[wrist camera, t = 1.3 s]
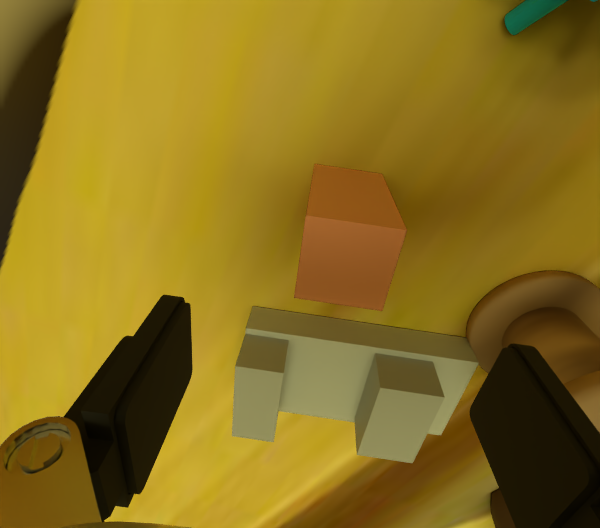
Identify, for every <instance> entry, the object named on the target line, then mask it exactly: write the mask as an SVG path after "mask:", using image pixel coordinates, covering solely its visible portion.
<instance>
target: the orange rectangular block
mask: <svg viewBox="0 0 600 528" xmlns="http://www.w3.org/2000/svg"><path fill="white" fill-rule="evenodd" d="M406 232H407V229H406V227H405V225H404V222H403V220H402V218H401V216H400V213H399V211H398V209H397V206H396V204H395V202H394V200H393V197H392V195H391V193H390V191H389V188H388V186H387V184H386V182H385V179H384V177H383V175H382V174H380V173H373V172H366V171H360V170H353V169H346V168H339V167H332V166H326V165H319V164H314V170H313V176H312V182H311V188H310V194H309V200H308V206H307V212H306V218H305V225H304V232H303V239H302V246H301V253H300V260H299V267H298V274H297V281H296V288H295V295H294V298H299V299H305V300H312V301H319V302H326V303H332V304H339V305H346V306H352V307H359V308H366V309H372V310H379V311H382V310H383V307H384V304H385V301H386V297H387V294H388V291H389V288H390V284H391V281H392V278H393V275H394V271H395V268H396V265H397V261H398V258H399V255H400V252H401V248H402V245H403V242H404V239H405V235H406Z"/></svg>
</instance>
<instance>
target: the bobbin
mask: <svg viewBox="0 0 600 528" xmlns="http://www.w3.org/2000/svg"><path fill="white" fill-rule="evenodd" d="M466 338H467V340H468V342H469V344H470V346H471V348H472V350H473V352H474V354H475V356H476V358H477V360H478V362H479V365H480V366H481V368H483V369H484V370H485V371H486V372H488V373H489V372H490V370H491V369H492V367H493V365H494V363H495V361H496V359H497V358H498V356H499V354H500V352H501V350H502V349H503V348H505V347H508V345H510V344H513V343H515V344H522V345H529V346H533V347H535V348H536V349H537V350H538V351H539V353H540V354H541V355H542V357H543V358H544V359H545V361H546V362H547V363H548V365H549V366H550V367H551V369H552V370H553V371H554V373H555V374H556V375H557V377H558V378H559V379H560V381H561V382H562V383H563V385H564V386H565V387H566V389H567V390H568V391H569V393H570V394H571V395H572V397H573V398H574V399H575V401H576V402H577V403H578V405H579V406H580V407H581V409H582V410H583V411H584V413H585V414H586V415H587V417H588V418H589V419H590V421H591V422H592V423H593V425H594V426H595V427H596V429H597V430H598V431H599V433H600V289H599V288H597V287H596V286H595V285H594V284H593V283H591V282H590V281H589V280H587V279H585V278H583V277H581V276H579V275H576V274H573V273H569V272H563V271H541V272H534V273H529V274H525V275H522V276H519V277H516V278H514V279H511V280H509V281H507V282H505V283H503V284H501V285H499V286H498V287H496V288H495V289H493V290H492V291H490V292H489V293H488V294H487V295H486V296H485V297H484V298H483V299H482V300H481V301H480V302H479V303H478V304H477V305H476V307H475V308H474V309H473V311H472V313H471V315H470V317H469V320H468V322H467V327H466Z"/></svg>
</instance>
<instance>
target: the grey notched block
mask: <svg viewBox="0 0 600 528" xmlns="http://www.w3.org/2000/svg"><path fill="white" fill-rule="evenodd" d="M478 364H479V362H478V360H477V358H476V356H475V354H474V352H473V350H472V348H471V346H470V344H469V342H468V340H467V338H464V337H457V336H450V335H444V334H437V333H430V332H423V331H417V330H410V329H403V328H397V327H390V326H383V325H376V324H370V323H363V322H356V321H350V320H343V319H336V318H329V317H323V316H316V315H309V314H303V313H296V312H289V311H282V310H276V309H269V308H262V307H256V306H253V308H252V311H251V314H250V317H249V320H248V323H247V326H246V334H245V337H244V340H243V343H242V347H241V350H240V353H239V356H238V359H237V362H236V366H235V384H234V405H233V426H232V436H236V437H242V438H249V439H256V440H262V441H269V442H274V437H275V430H276V423H277V417H278V411H283V412H289V413H296V414H303V415H309V416H316V417H323V418H329V419H336V420H343V421H349V422H355V433H356V448H357V455H362V456H368V457H375V458H382V459H388V460H395V461H402V462H408V463H413V461H414V459H415V457H416V455H417V453H418V451H419V449H420V447H421V445H422V443H423V441H424V439H425V437H426V435H427V433H429V434H436V435H441V434H442V432H443V430H444V428H445V426H446V424H447V423H448V421H449V419H450V417H451V415H452V413H453V411H454V409H455V407H456V405H457V404H458V402H459V400H460V398H461V396H462V394H463V392H464V390H465V388H466V386H467V385H468V383H469V381H470V379H471V377H472V375H473V373H474V371H475V369H476V368H477V366H478Z"/></svg>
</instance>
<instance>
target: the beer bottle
mask: <svg viewBox="0 0 600 528" xmlns="http://www.w3.org/2000/svg"><path fill="white" fill-rule="evenodd" d="M491 514H492V518H493V521H494V524H495V528H516V527H515V525H514V522H513V520H512V517H511V515H510V513H509V510H508V508H507V505H506V503H505V501H504V498H503V496H502V493H501V491H500V489H498V490H496V491H494V492H492V499H491Z"/></svg>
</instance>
